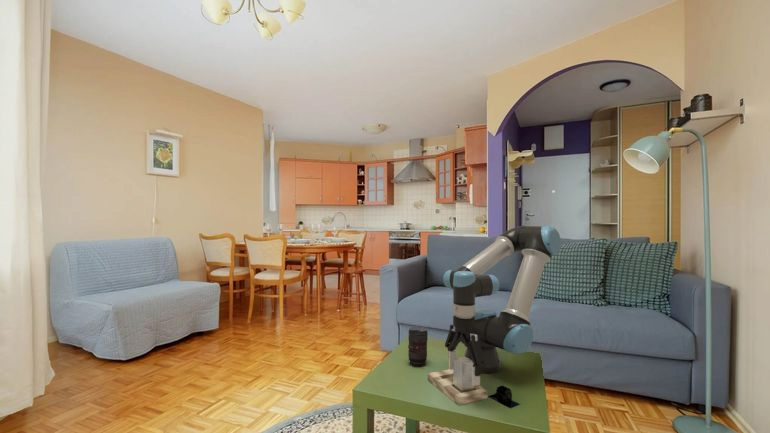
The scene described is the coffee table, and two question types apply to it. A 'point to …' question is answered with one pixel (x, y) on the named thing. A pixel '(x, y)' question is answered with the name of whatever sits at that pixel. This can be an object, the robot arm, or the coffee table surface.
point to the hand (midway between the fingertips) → (463, 376)
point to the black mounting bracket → (504, 397)
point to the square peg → (462, 374)
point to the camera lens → (417, 346)
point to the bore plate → (445, 384)
